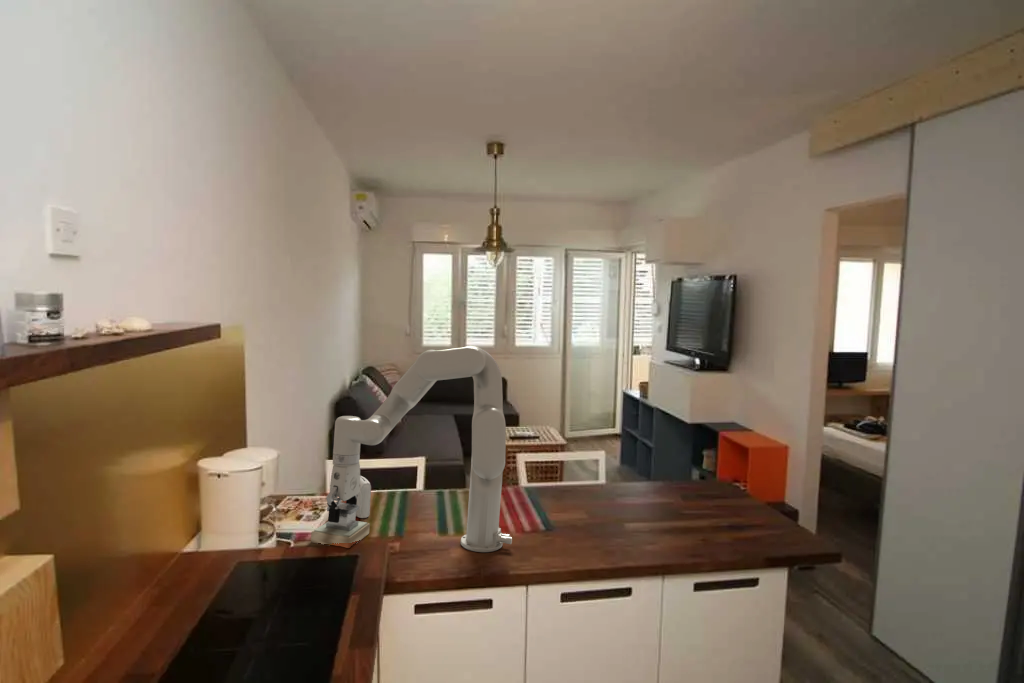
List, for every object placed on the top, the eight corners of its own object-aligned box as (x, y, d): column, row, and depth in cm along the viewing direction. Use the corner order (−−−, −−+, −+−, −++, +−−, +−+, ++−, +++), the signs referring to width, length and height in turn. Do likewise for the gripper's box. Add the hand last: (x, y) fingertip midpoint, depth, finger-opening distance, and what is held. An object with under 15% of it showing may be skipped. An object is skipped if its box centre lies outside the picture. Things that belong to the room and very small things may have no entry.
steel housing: (358, 525, 157) (359, 505, 157) (349, 531, 152) (350, 510, 152) (335, 521, 159) (336, 501, 159) (325, 527, 154) (327, 506, 154)
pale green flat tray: (369, 533, 160) (369, 522, 160) (349, 548, 149) (350, 536, 149) (333, 527, 163) (334, 516, 163) (310, 542, 151) (311, 530, 151)
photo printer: (346, 509, 179) (348, 473, 179) (358, 507, 182) (360, 472, 181) (358, 519, 171) (361, 481, 171) (371, 517, 174) (373, 480, 173)
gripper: (342, 467, 146) (338, 528, 146) (371, 453, 163) (368, 508, 163) (318, 463, 148) (314, 524, 148) (349, 451, 165) (345, 505, 165)
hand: (342, 516), depth 156 cm, fingers open, 9 cm apart
